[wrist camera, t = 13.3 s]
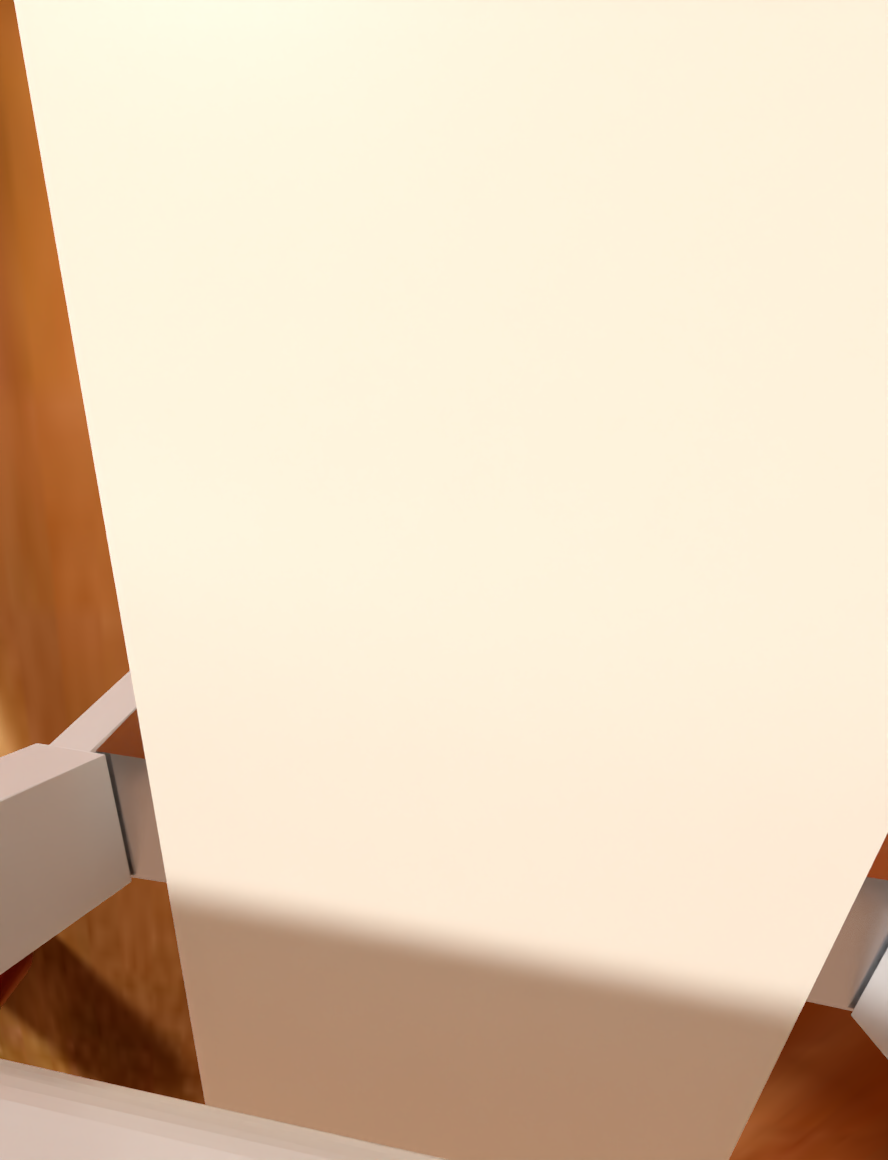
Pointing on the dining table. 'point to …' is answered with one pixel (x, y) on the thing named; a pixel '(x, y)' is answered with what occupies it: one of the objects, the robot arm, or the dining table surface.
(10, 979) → the soda can
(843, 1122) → the dining table surface
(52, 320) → the dining table surface
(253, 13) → the menu stand
